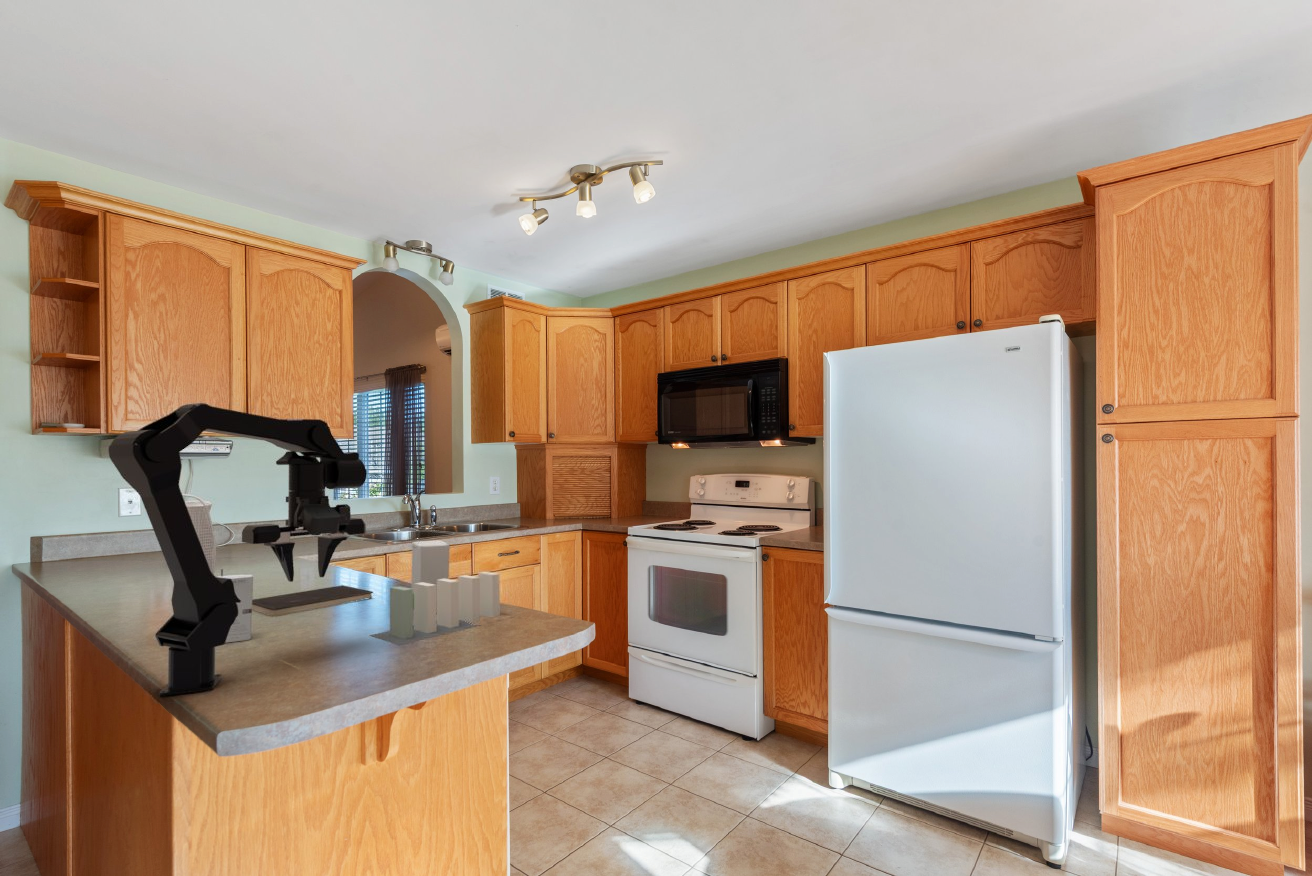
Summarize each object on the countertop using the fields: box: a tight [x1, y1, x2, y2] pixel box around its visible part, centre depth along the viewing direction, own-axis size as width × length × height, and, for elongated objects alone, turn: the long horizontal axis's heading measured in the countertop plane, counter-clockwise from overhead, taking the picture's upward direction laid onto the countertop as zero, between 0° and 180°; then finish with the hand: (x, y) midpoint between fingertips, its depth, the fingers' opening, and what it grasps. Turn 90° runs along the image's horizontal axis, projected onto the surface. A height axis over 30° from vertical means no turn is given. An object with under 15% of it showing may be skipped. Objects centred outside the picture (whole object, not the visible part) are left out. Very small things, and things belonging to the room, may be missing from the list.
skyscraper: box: [168, 493, 224, 593], centre depth 127 cm, size 8×8×28 cm
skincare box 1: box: [216, 573, 254, 644], centre depth 124 cm, size 6×4×12 cm
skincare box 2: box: [410, 539, 450, 613], centre depth 144 cm, size 8×7×16 cm
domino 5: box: [477, 571, 501, 617], centre depth 138 cm, size 2×5×9 cm, turn 51°
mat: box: [369, 619, 481, 646], centre depth 130 cm, size 26×11×1 cm, turn 141°
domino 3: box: [436, 578, 459, 628], centre depth 131 cm, size 2×5×9 cm, turn 51°
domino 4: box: [457, 574, 480, 623], centre depth 135 cm, size 2×5×9 cm, turn 51°
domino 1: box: [389, 585, 414, 639], centre depth 123 cm, size 2×5×9 cm, turn 51°
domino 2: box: [413, 582, 437, 633], centre depth 127 cm, size 2×5×9 cm, turn 51°
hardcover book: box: [252, 584, 374, 617], centre depth 156 cm, size 16×23×2 cm
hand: (306, 579), depth 114 cm, fingers open, 5 cm apart
